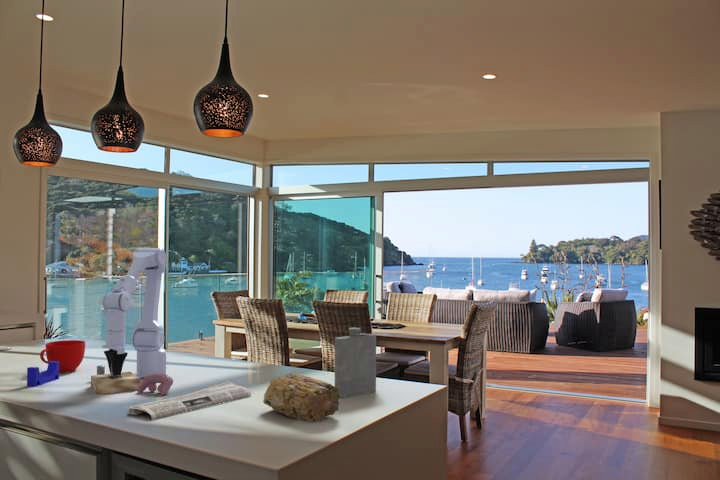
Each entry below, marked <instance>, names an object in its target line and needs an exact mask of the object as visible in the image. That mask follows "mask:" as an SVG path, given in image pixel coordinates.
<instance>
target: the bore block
mask: <svg viewBox="0 0 720 480" xmlns="http://www.w3.org/2000/svg"><path fill="white" fill-rule="evenodd" d="M133 373H134V372H131V371H125V372H123V371H122V372H121V375H119V378H111V373H105V374H103V375H97V374H95V375H91V376H90V388H91V389H93V390H94V391H95V392H96V393H97V394H98V395H104V394H113V393H118V392H128V391H129V392H130V391H137V390H138V386H139V385H140V384H141V378H139V377H138V376H136V375H134V374H133Z"/></svg>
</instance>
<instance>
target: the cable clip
mask: <svg viewBox="0 0 720 480" xmlns="http://www.w3.org/2000/svg"><path fill="white" fill-rule="evenodd" d="M59 379H60V372H59V362H56V361H50V362H48V364H47V368H46V370H43V371H41V372H40V367H38V366H29V367H27V368H26V387H35V388H36V387H38V386H42V385H44V384H48V383H51V382H53V381H54V382H55V381H57V380H59Z"/></svg>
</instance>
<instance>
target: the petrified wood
mask: <svg viewBox="0 0 720 480" xmlns="http://www.w3.org/2000/svg"><path fill="white" fill-rule="evenodd" d="M339 397H340V395H339V391H338V389H337V388H336V387H335V385H332V384H331V383H330V382H329V383H328V382H326V381H323V380H320V379H316V378H314V377H310V376H307V375H304V374H303V375H302V374H298V373H289V374H285V375H284V376H277V377H276V378H274V379H273V380H271V381H270V382H269V385H268V387H267V388H266V390H265V392H264V394H263V404H264V405H266V406H268V407H269V408H271V409H272V410H275V411H276V412H278V413H279V414H281V415H284V414H286V415H285V416H287V417H289V418H294V417H295V418H294V419H297V418H298V419H297V420H300V421H309V420H311V421H310V422H317V421H318V422H319V421H321V420H322V421H323V420H325V419H326V417H329V416H333V415H335V413H337V412H338V411H339V405H340V401H339V399H338V398H339ZM291 416H292V417H291Z"/></svg>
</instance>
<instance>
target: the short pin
mask: <svg viewBox="0 0 720 480" xmlns="http://www.w3.org/2000/svg"><path fill="white" fill-rule="evenodd" d="M105 371H106V367H105V365H103V364H102V365H97V366H96V375H103V374H106V372H105Z"/></svg>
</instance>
